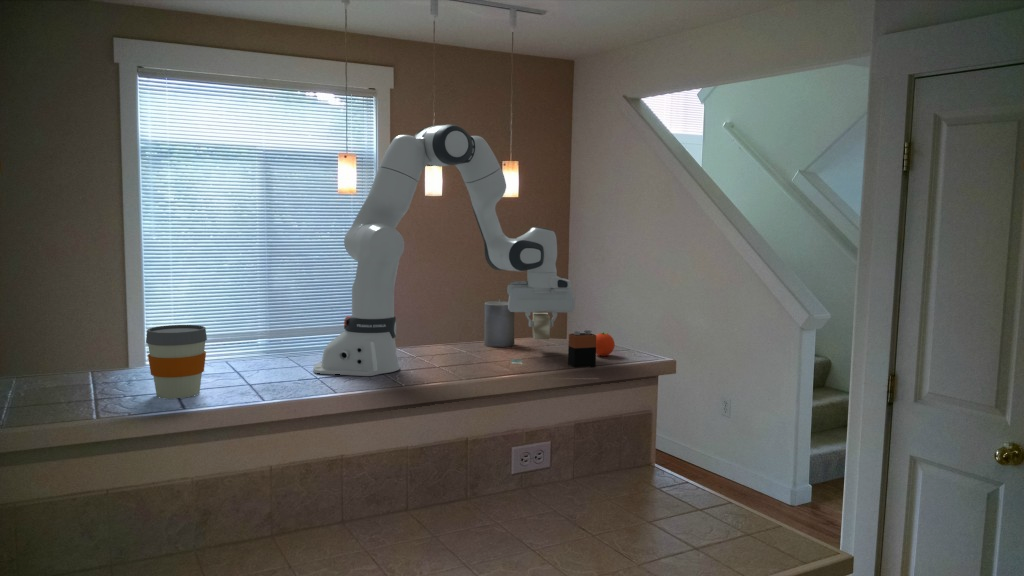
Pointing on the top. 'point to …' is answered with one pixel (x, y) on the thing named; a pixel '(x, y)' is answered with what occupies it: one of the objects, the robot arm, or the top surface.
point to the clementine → (604, 344)
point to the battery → (582, 349)
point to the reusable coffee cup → (176, 359)
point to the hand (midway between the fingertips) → (541, 326)
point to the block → (541, 326)
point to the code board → (516, 361)
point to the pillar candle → (498, 324)
